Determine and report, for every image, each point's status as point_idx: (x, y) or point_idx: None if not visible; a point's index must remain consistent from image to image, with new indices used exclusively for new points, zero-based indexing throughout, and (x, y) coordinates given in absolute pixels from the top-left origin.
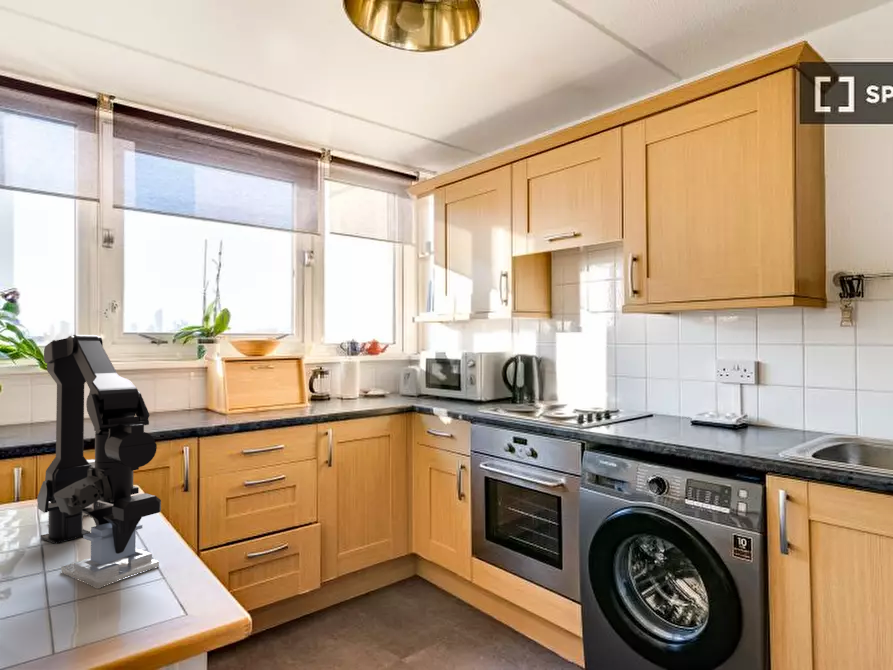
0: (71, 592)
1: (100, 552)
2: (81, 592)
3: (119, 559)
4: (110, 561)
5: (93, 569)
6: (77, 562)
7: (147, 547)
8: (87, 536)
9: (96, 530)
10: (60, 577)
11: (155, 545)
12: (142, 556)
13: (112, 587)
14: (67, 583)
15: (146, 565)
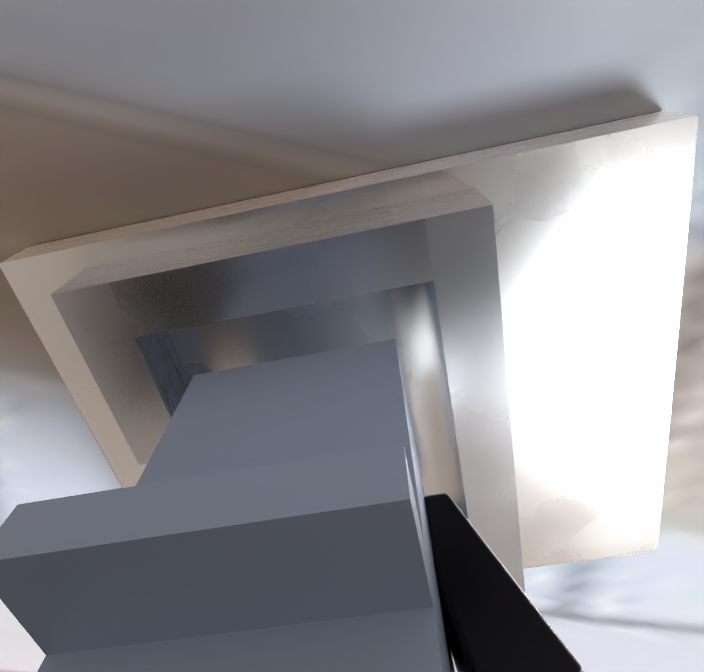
0: (76, 64)
1: (172, 446)
2: (27, 132)
3: (425, 488)
4: (435, 441)
5: (141, 297)
6: (482, 235)
7: (597, 623)
8: (231, 522)
9: None
10: (548, 76)
11: (587, 651)
12: None
13: (7, 326)
14: (334, 90)
15: None
